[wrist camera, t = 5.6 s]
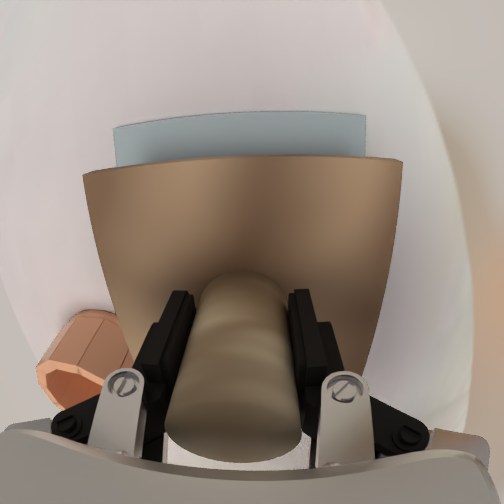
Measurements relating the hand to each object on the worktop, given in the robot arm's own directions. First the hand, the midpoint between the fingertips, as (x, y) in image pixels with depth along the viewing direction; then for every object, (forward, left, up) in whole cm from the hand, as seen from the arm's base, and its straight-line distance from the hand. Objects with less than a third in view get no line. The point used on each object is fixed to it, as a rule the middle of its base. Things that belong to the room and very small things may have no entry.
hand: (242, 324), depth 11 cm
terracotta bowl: (+12, +10, -7) cm, 18 cm away
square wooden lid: (0, 0, -2) cm, 2 cm away
